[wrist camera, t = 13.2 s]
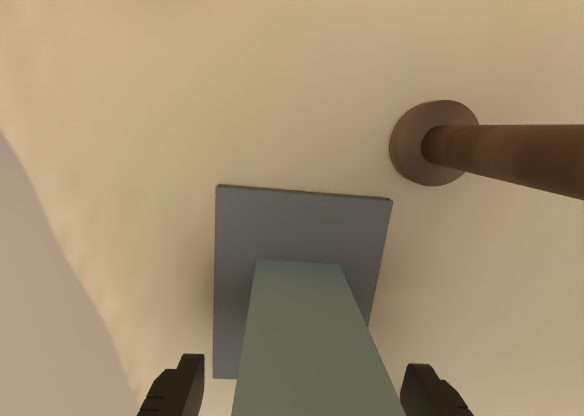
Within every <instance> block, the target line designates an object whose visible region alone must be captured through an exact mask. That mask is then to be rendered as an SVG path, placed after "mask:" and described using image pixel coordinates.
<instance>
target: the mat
mask: <svg viewBox="0 0 584 416" xmlns="http://www.w3.org/2000/svg"><path fill="white" fill-rule="evenodd" d="M392 204H393V201H392V200H390V199H389V198H378V197H366V196H353V195H341V194H329V193H317V192H304V191H292V190H280V189H267V188H255V187H243V186H231V185H217V186H216V205H215V264H214V322H213V378H215V379H237V377H238V371H239V364H240V358H241V352H242V346H243V340H244V334H245V328H246V321H247V315H248V309H249V303H250V297H251V291H252V285H253V278H254V272H255V266H256V260H257V259H269V260H284V261H299V262H314V263H328V264H339V265H340V267H341V269H342V272H343V274H344V276H345V278H346V281H347V283H348V285H349V287H350V290H351V292H352V294H353V296H354V299H355V301H356V303H357V305H358V308H359V310H360V312H361V315H362V317H363V319H364V321H365V324H366V326H367V327H368V322H369V317H370V312H371V308H372V303H373V298H374V293H375V288H376V283H377V278H378V273H379V268H380V263H381V258H382V253H383V248H384V244H385V239H386V234H387V229H388V224H389V219H390V214H391V209H392Z"/></svg>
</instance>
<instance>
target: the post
mask: <svg viewBox="0 0 584 416" xmlns="http://www.w3.org/2000/svg"><path fill="white" fill-rule="evenodd" d="M390 157H391V160H392V163H393V165H394V167H395V168H396V170H397V171H398V172H399V173H400V174H401V175H402V176H404V177H405V178H407V179H409V180H411V181H414V182H416V183H418V184H421V185H425V186H441V185H445V184H448V183H450V182H452V181H454V180H456V179H457V178H459V177H460V176H461V175H463V174H464V173H465V172H469V173H473V174H477V175H481V176H485V177H489V178H494V179H498V180H502V181H506V182H510V183H514V184H518V185H522V186H527V187H531V188H535V189H539V190H543V191H547V192H551V193H555V194H560V195H564V196H568V197H572V198H576V199H580V200H584V125H479V123H478V121H477V119H476V117H475V115H474V114H473V112H472V111H471V110H470V109H469V108H467V107H466V106H465V105H463V104H461V103H459V102H456V101H451V100H440V101H434V102H427V103H423V104H420V105H418V106H416V107H414V108H412V109H411V110H409V111H408V112H407V113H405V114H404V115H403V116H402V118H401V119H400V120H399V121H398V123H397V124H396V126H395V128H394V130H393V132H392V135H391V139H390Z"/></svg>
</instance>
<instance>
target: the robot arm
mask: <svg viewBox="0 0 584 416" xmlns="http://www.w3.org/2000/svg"><path fill="white" fill-rule="evenodd" d="M203 393H204V354H185V353H184V354H183V355H182V357H181V360H180V362H179V364H178V367H177V369H165V370H164V371H163V372H162V373H161V374H160V375H159V376H158V377H157V378H156V380H155V381H154V382H153V384H152V386H151V388H150V390H149V392H148V394H147V396H146V399H145V400H144V402H143V404H142V406H141V408H140V412H138V414H137V416H198V414H199V411H200V407H201V403H202V399H203ZM400 402H401V405H402V407H403V409H404V412H405V414H406V416H474V415H473V414H472V412H471V411H470V410H468V406H467V405H466V403H465V402H464V400H463V399H462V397H461V396H460V394H459V393H458V392H457V391H456V390H455V389H454V388H453V387H452V386H451V385H450V384H449V383H447V382H446V381H445V380H440V379H439V377H438V376H437V374H436V373H435V371H434V369H433V368H432V367H431V366H430V365H429V364H411V363H410V364H408V366H407V368H406V372H405V376H404V380H403V384H402V388H401V392H400Z"/></svg>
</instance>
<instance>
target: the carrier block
mask: <svg viewBox="0 0 584 416" xmlns="http://www.w3.org/2000/svg"><path fill="white" fill-rule="evenodd" d="M231 416H406V414H405V412H404V409H403V407H402V405H401V403H400V400H399V398H398V396H397V394H396V391H395V389H394V387H393V385H392V382H391V380H390V378H389V376H388V373H387V371H386V369H385V366H384V364H383V362H382V360H381V357H380V355H379V353H378V351H377V348H376V346H375V344H374V342H373V339H372V337H371V335H370V333H369V330H368V328H367V326H366V324H365V321H364V319H363V317H362V315H361V312H360V310H359V308H358V305H357V303H356V301H355V299H354V296H353V294H352V292H351V290H350V287H349V285H348V283H347V281H346V278H345V276H344V274H343V272H342V269H341V267H340V265H339V264H328V263H314V262H299V261H284V260H269V259H257V260H256V266H255V272H254V278H253V285H252V291H251V297H250V303H249V309H248V315H247V321H246V328H245V334H244V340H243V346H242V352H241V358H240V364H239V371H238V377H237V383H236V389H235V395H234V401H233V407H232V414H231Z"/></svg>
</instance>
